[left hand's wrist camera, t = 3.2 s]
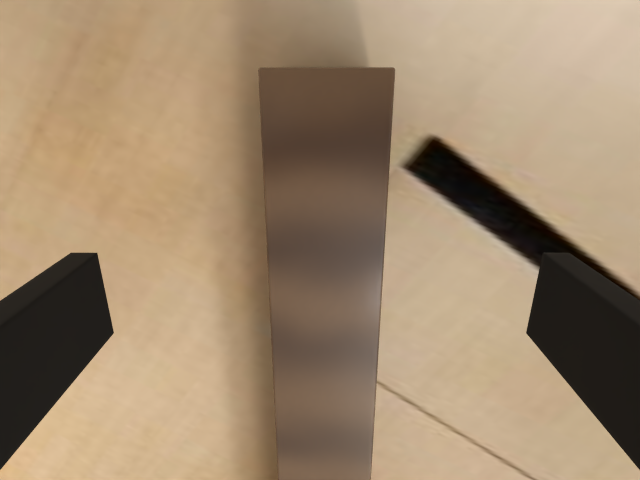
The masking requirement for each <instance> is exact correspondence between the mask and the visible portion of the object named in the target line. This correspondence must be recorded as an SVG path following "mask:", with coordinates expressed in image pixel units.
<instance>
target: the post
mask: <svg viewBox="0 0 640 480" xmlns="http://www.w3.org/2000/svg"><path fill="white" fill-rule="evenodd" d="M258 71H259V92H260V112H261V133H262V154H263V174H264V195H265V215H266V236H267V256H268V277H269V297H270V318H271V339H272V359H273V380H274V400H275V421H276V441H277V462H278V480H371V467H372V450H373V433H374V416H375V399H376V382H377V366H378V349H379V332H380V315H381V298H382V281H383V264H384V248H385V231H386V214H387V197H388V180H389V163H390V147H391V130H392V113H393V96H394V79H395V68H259V70H258Z"/></svg>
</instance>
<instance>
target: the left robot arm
mask: <svg viewBox="0 0 640 480" xmlns="http://www.w3.org/2000/svg"><path fill="white" fill-rule="evenodd" d="M113 333H114V332H113V327H112V322H111V317H110V313H109V308H108V303H107V298H106V293H105V289H104V284H103V279H102V274H101V269H100V264H99V260H98V255H97V253H70V254H69V255H67V256H66V257H64V258H63V259H61V260H60V261H58V262H57V263H55V264H54V265H52V266H51V267H49V268H48V269H47V270H45V271H44V272H42V273H41V274H39V275H38V276H36V277H35V278H33V279H32V280H30V281H29V282H27V283H26V284H24V285H23V286H21V287H20V288H19V289H17V290H16V291H14V292H13V293H11V294H10V295H8V296H7V297H5V298H4V299H2V300H1V301H0V469H1V468H2V467H3V466H4V465H5V463H6V462H7V461H8V460H9V459H10V457H11V456H12V455H13V454H14V453H15V451H16V450H17V449H18V448H19V447H20V445H21V444H22V443H23V442H24V441H25V439H26V438H27V437H28V436H29V435H30V433H31V432H32V431H33V430H34V428H35V427H36V426H37V425H38V424H39V422H40V421H41V420H42V419H43V418H44V416H45V415H46V414H47V413H48V412H49V410H50V409H51V408H52V407H53V406H54V404H55V403H56V402H57V401H58V400H59V398H60V397H61V396H62V395H63V394H64V392H65V391H66V390H67V389H68V387H69V386H70V385H71V384H72V383H73V381H74V380H75V379H76V378H77V377H78V375H79V374H80V373H81V372H82V371H83V369H84V368H85V367H86V366H87V365H88V363H89V362H90V361H91V360H92V359H93V357H94V356H95V355H96V354H97V352H98V351H99V350H100V349H101V348H102V346H103V345H104V344H105V343H106V342H107V340H108V339H109V338H110V337H111V336H112V334H113ZM526 333H527V334H528V336H529V337H530V338H531V339H532V340H533V342H534V343H535V344H536V345H537V346H538V348H539V349H540V350H541V351H542V352H543V354H544V355H545V356H546V357H547V359H548V360H549V361H550V362H551V363H552V365H553V366H554V367H555V368H556V369H557V371H558V372H559V373H560V374H561V375H562V377H563V378H564V379H565V380H566V381H567V383H568V384H569V385H570V386H571V387H572V389H573V390H574V391H575V392H576V394H577V395H578V396H579V397H580V398H581V400H582V401H583V402H584V403H585V404H586V406H587V407H588V408H589V409H590V410H591V412H592V413H593V414H594V415H595V416H596V418H597V419H598V420H599V421H600V422H601V424H602V425H603V426H604V427H605V428H606V430H607V431H608V432H609V433H610V435H611V436H612V437H613V438H614V439H615V441H616V442H617V443H618V444H619V445H620V447H621V448H622V449H623V450H624V451H625V453H626V454H627V455H628V456H629V457H630V459H631V460H632V461H633V462H634V463H635V465H636V466H637V467H638V468H639V469H640V301H639V300H638V299H636V298H635V297H633V296H632V295H630V294H629V293H627V292H626V291H624V290H623V289H621V288H620V287H619V286H617V285H616V284H614V283H613V282H611V281H610V280H608V279H607V278H605V277H604V276H602V275H601V274H599V273H598V272H596V271H595V270H593V269H592V268H591V267H589V266H588V265H586V264H585V263H583V262H582V261H580V260H579V259H577V258H576V257H574V256H573V255H571V254H570V253H543V255H542V260H541V264H540V269H539V274H538V279H537V284H536V289H535V293H534V298H533V303H532V308H531V313H530V317H529V322H528V327H527V332H526Z"/></svg>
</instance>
